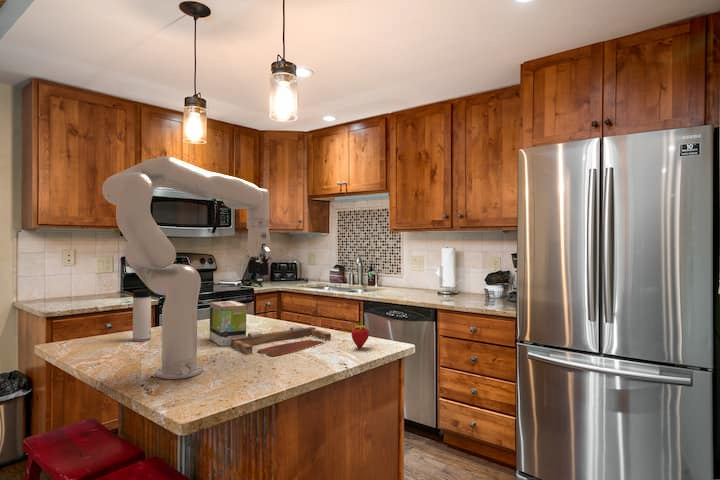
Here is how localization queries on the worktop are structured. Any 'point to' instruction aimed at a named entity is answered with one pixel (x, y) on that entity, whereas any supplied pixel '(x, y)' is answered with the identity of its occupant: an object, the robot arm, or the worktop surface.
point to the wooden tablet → (288, 348)
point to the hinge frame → (275, 337)
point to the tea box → (227, 321)
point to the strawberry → (360, 335)
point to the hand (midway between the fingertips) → (258, 274)
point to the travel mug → (142, 315)
